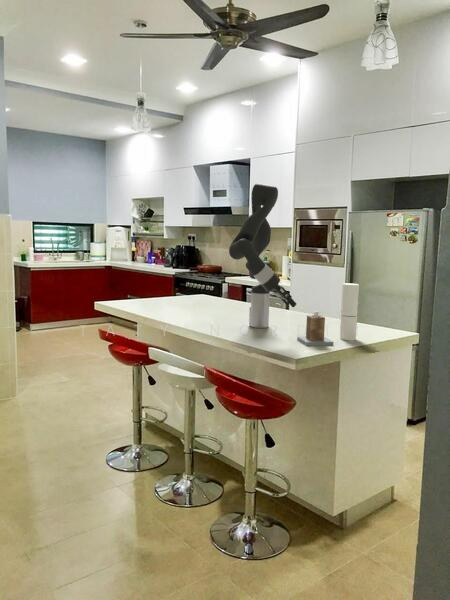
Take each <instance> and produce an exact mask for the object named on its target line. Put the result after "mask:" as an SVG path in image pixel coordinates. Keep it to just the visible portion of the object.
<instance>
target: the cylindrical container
mask: <svg viewBox="0 0 450 600" xmlns="http://www.w3.org/2000/svg"><path fill="white" fill-rule="evenodd" d="M341 289H342V290H341V291H342V292H341V310H340V311H341V312H340V322H339V323H340V326H339V339H340V340H343V341H357V340H356V339H357V328H358V326H357V324H358V307H359V293H360V291H359V289H360V284H358V283H346V282H345V283H344V282H343V283H342V288H341Z"/></svg>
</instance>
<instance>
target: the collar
mask: <svg viewBox="0 0 450 600" xmlns="http://www.w3.org/2000/svg"><path fill="white" fill-rule="evenodd" d="M325 322H326V317H325V316H322V315H319V316H318V317H314V314H313V315H312V314H311V315H309V314H307V315H306V328H305V336H306V338H307V339H309V340H310V341H324V337H325V330H326V329H325V327H326V326H325V325H326V323H325Z"/></svg>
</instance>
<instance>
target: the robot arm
mask: <svg viewBox="0 0 450 600" xmlns="http://www.w3.org/2000/svg"><path fill="white" fill-rule="evenodd" d="M278 196H279V190H278V187H276V186H274V185H271V184H265V183H255V184H254V185H253V187H252V191H251V197H250V199H251V214H250V215H249V216H248V217H247V218H246V219H245V220H244V222H243V223H242V225H241V228H240V229H239V230H240V231H239V232H238V233H237V235H235V238H234V239H233V240H232V242H231V243H230V245H229V248H228V254H229V256H230V257H231V258H232V259H233V260H242V259H243V258H245V260H246V262H245V267H246V269H247V271H248V275H249V278H250V279H252V280H256V281H257V282H258V284H257V285H253V286H252V287H251V290H250V291H251V295H250V296H251V297H250V301H251V302H250V303H251V304H250V307H249V314H248V315H249V319H248V321H249V322H248V325H249V326H250V327H252V328H256V329H262V328H264V329H266V328H269V325H270V297H271V294H270V293H271V292H272V293H273V294H274V295H275V296H276V297H277V298H278V299H280V300H281V301H282V302H283V303H284V304H285V305H288V304H289V306H291V307H292V308H295V307H296V306H297V303H296V302H295V300H294V299H293V297H292V295H291V294H290V293H289V292H288V291H287V290H286V288H285V287H284V286H282V285H279V283H280V282H281V278H280V277H279V276H278V275H277V274H276V272H275V271H273V270H272V264H271V261H269V260H263V259H261V257H260V255H261V254H262V253H263V252H264V251H265V250H266V249H267V247H268V246H269V244H270V243H271V235H272V228H271V225H270V222H268V220H267V217H268V216H269V214H271V213H270V212H271V211H272V210H273V208H274V207H275V205H276V203H277V201H278V198H279V197H278ZM270 291H271V292H270Z"/></svg>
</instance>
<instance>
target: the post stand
mask: <svg viewBox="0 0 450 600" xmlns="http://www.w3.org/2000/svg"><path fill="white" fill-rule="evenodd" d="M319 313H320V312H319V311H313V315H314V317H318V316H319ZM296 340H297V341H298V342H300V343H302V344H303V345H304V346H306V347H315V346H318V347H319V346H322V347H323V346H334V344H335V342H334V341H333V340H331V339H329V338H327V337H326V336H324V341H310V340H309V339H307V338H306V335H304V336H300V335H299V336H297V338H296Z"/></svg>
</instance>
